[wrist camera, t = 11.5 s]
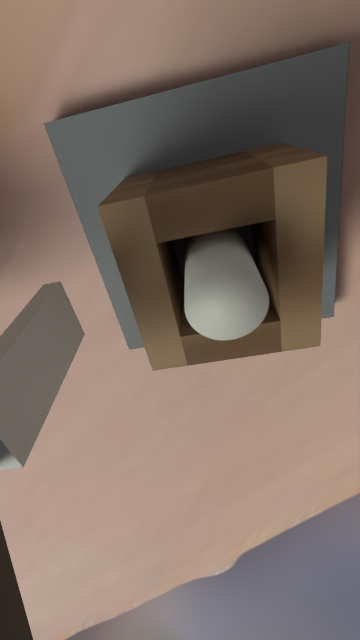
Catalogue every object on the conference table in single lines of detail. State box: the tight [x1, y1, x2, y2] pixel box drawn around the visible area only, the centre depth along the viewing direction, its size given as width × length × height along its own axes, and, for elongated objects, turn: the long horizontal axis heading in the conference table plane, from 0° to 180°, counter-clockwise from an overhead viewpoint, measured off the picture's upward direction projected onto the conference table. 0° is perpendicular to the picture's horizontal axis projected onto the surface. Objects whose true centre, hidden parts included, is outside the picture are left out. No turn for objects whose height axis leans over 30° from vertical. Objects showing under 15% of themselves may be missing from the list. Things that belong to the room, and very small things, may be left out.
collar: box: [97, 143, 327, 371], centre depth 16 cm, size 8×8×6 cm
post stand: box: [44, 43, 349, 350], centre depth 15 cm, size 14×14×9 cm
